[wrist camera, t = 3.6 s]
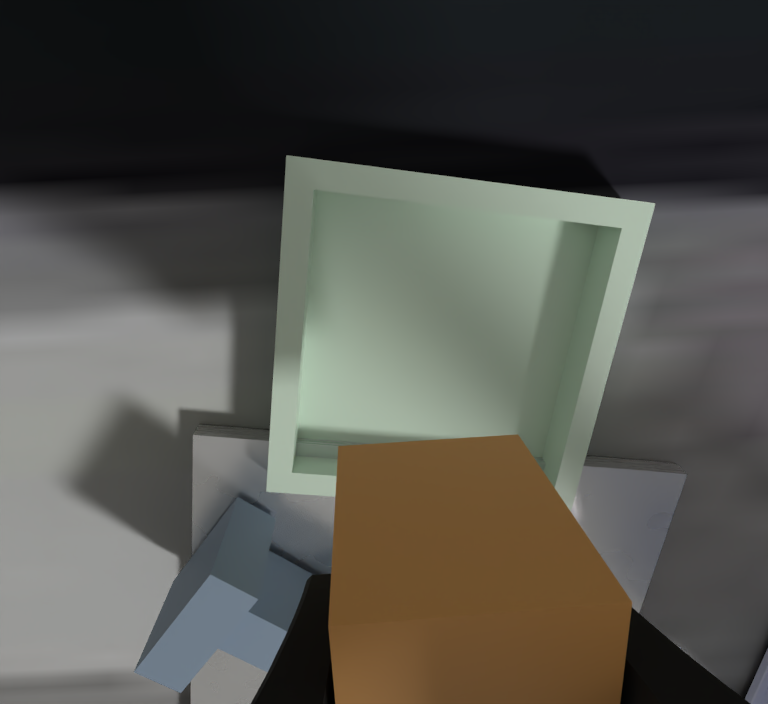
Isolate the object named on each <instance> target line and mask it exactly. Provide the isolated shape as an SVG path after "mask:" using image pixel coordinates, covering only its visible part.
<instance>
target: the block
mask: <svg viewBox="0 0 768 704" xmlns="http://www.w3.org/2000/svg"><path fill="white" fill-rule="evenodd" d="M631 609H632V601H631V600H630V598H629V597H628V595H627V594H626V592H625V591H624V589H623V588H622V586H621V585H620V583H619V582H618V581H617V579H616V578H615V576H614V575H613V573H612V572H611V570H610V569H609V567H608V566H607V564H606V563H605V561H604V560H603V558H602V557H601V556H600V554H599V553H598V551H597V550H596V548H595V547H594V545H593V544H592V542H591V541H590V539H589V538H588V536H587V535H586V533H585V532H584V531H583V529H582V528H581V526H580V525H579V523H578V522H577V520H576V519H575V517H574V516H573V514H572V513H571V511H570V510H569V508H568V507H567V506H566V504H565V503H564V501H563V500H562V498H561V497H560V495H559V494H558V492H557V491H556V489H555V488H554V486H553V485H552V484H551V482H550V481H549V479H548V478H547V476H546V475H545V473H544V472H543V470H542V469H541V467H540V466H539V464H538V463H537V461H536V460H535V459H534V457H533V456H532V454H531V453H530V451H529V450H528V448H527V447H526V445H525V444H524V442H523V441H522V439H521V438H520V436H519V435H518V434H516V435H501V436H485V437H470V438H454V439H439V440H423V441H408V442H392V443H377V444H362V445H346V446H338V459H337V477H336V495H335V513H334V532H333V550H332V568H331V586H330V604H329V622H328V629H329V640H330V651H331V662H332V672H333V683H334V694H335V704H620V701H621V693H622V684H623V676H624V668H625V659H626V651H627V643H628V634H629V626H630V618H631Z"/></svg>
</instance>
